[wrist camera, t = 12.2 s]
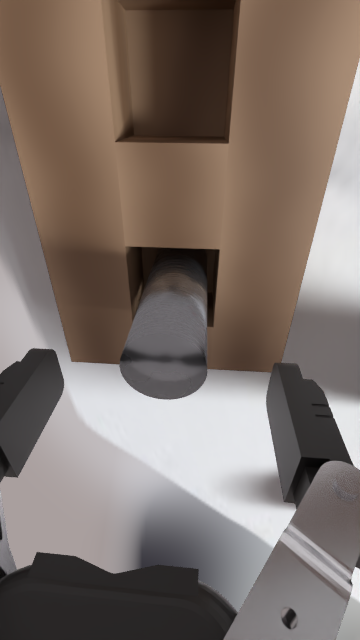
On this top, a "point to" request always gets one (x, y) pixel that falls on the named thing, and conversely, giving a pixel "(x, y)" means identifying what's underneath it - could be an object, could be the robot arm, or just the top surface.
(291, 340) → the top surface
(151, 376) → the pin
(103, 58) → the hole block
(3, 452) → the robot arm
